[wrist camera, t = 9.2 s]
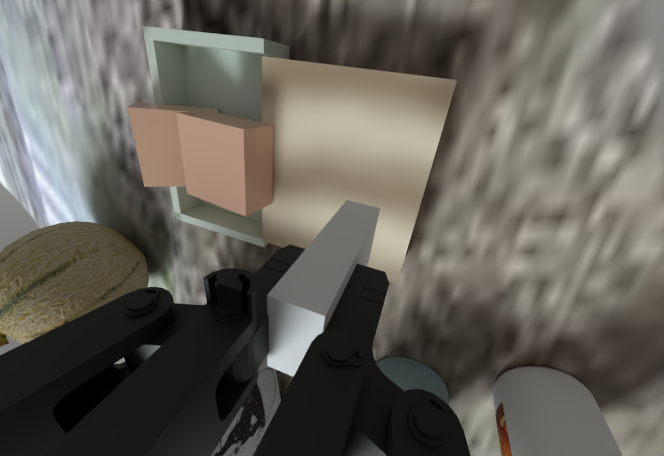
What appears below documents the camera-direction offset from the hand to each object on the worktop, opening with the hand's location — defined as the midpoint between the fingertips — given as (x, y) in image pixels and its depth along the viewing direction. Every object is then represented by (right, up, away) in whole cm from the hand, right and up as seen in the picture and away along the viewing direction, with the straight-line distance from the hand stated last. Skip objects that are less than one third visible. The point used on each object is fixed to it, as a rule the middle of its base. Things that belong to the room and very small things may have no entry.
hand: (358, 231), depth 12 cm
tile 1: (-8, +6, +9) cm, 14 cm away
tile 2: (-13, +6, +10) cm, 18 cm away
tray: (-10, +8, +13) cm, 19 cm away
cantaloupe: (-30, -3, +27) cm, 40 cm away
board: (+1, +5, +11) cm, 12 cm away
